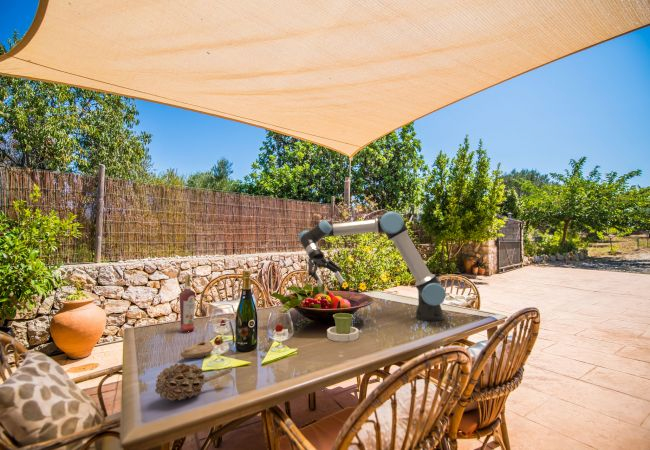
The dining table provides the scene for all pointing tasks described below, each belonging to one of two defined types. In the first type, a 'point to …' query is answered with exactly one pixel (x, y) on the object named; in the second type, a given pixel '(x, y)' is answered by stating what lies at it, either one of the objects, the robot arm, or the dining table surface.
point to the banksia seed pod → (183, 381)
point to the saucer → (342, 335)
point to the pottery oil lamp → (198, 350)
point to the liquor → (187, 306)
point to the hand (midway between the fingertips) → (332, 283)
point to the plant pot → (343, 323)
